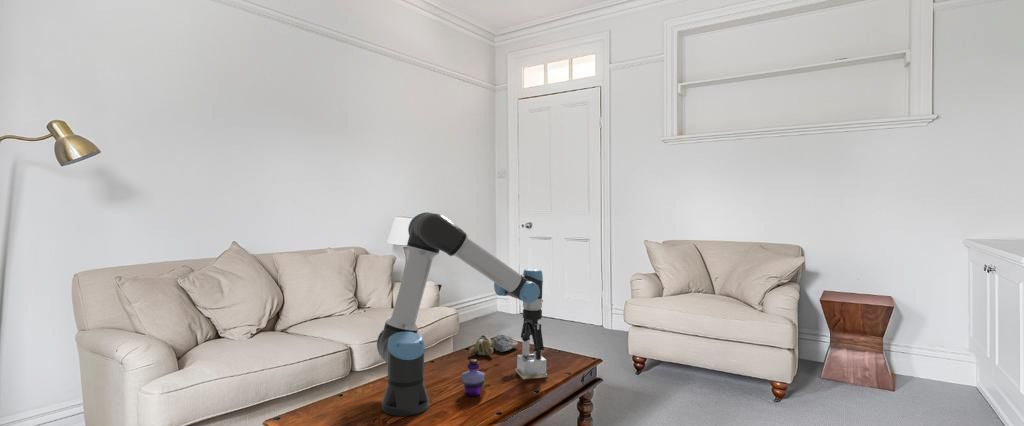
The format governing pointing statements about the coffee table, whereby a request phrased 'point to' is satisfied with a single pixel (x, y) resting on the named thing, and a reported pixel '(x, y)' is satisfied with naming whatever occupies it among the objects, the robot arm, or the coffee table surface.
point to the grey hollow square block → (530, 365)
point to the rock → (503, 343)
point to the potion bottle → (473, 379)
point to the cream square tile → (530, 375)
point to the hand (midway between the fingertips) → (531, 362)
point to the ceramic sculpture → (482, 346)
